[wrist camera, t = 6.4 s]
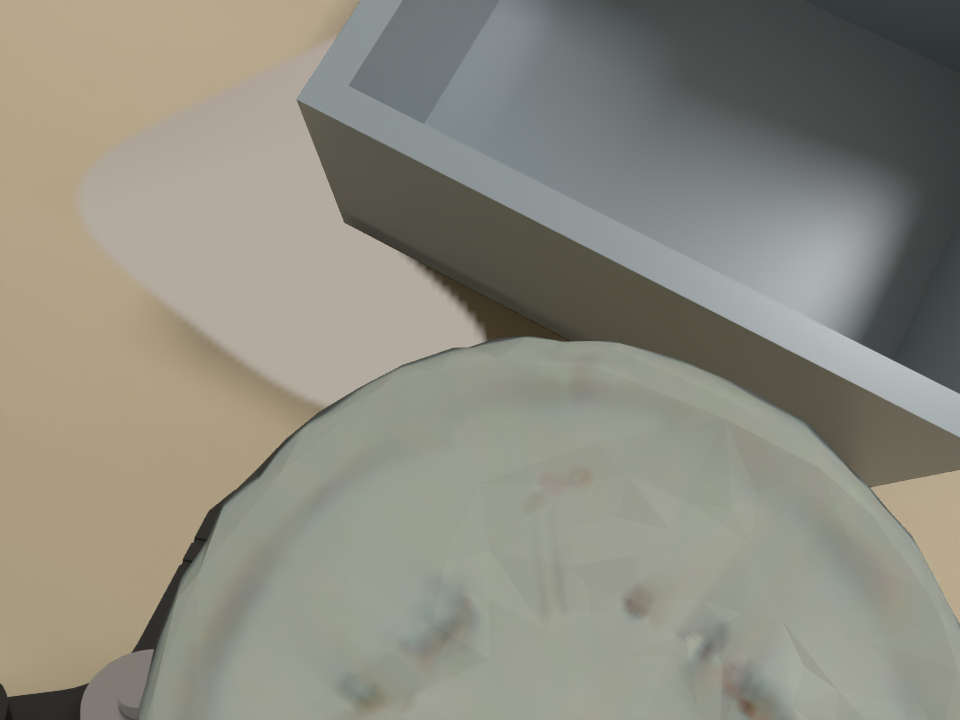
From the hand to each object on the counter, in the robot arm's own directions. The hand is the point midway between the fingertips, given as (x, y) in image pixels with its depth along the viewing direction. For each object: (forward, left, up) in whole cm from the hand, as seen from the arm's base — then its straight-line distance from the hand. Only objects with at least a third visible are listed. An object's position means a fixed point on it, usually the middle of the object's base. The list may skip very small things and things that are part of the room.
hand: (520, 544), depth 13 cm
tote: (0, +13, -11) cm, 16 cm away
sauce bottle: (+1, -2, -11) cm, 11 cm away
